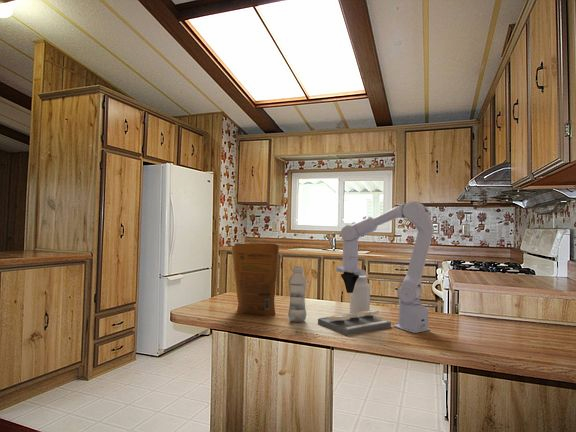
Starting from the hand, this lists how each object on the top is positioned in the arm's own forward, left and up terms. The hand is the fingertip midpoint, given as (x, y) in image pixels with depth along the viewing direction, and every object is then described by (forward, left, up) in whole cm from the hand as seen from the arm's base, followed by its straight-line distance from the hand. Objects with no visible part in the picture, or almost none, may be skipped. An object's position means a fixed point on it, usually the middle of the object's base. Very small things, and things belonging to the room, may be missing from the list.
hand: (349, 292), depth 142 cm
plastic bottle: (+6, +20, -10) cm, 23 cm away
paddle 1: (-8, +12, -6) cm, 16 cm away
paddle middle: (-8, +5, -6) cm, 11 cm away
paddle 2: (-8, -2, -6) cm, 10 cm away
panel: (-8, +5, -10) cm, 14 cm away
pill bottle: (+5, -10, -10) cm, 15 cm away
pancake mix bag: (+24, +28, -10) cm, 38 cm away
